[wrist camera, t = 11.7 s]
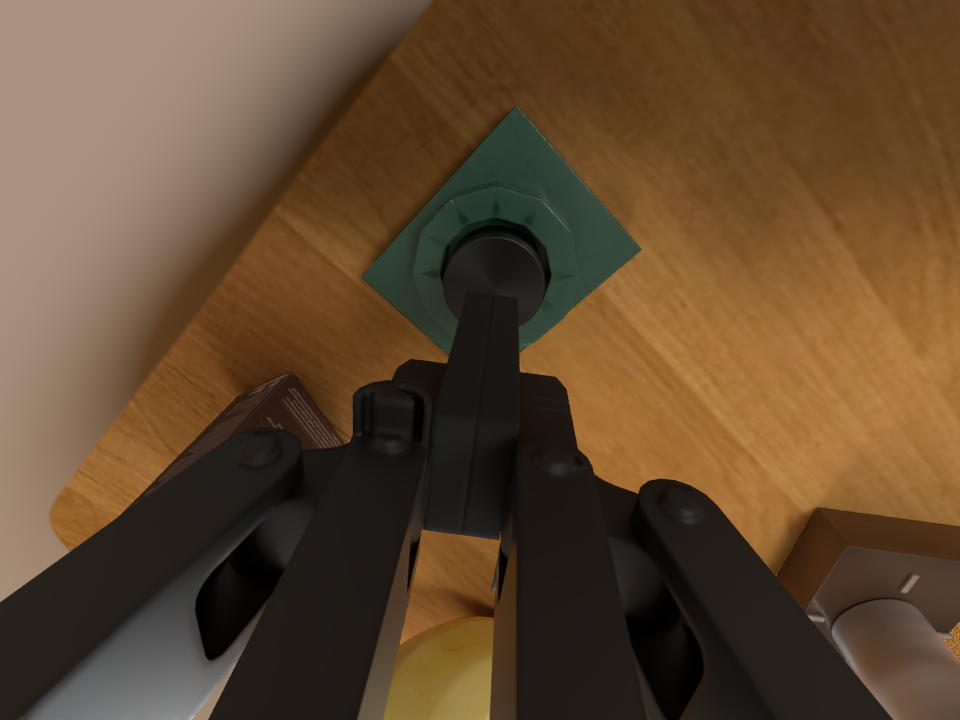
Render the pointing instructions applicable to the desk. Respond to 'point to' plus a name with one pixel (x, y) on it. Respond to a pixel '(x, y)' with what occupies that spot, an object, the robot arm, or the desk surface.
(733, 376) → the desk surface
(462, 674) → the banana
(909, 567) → the dial panel
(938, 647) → the dial
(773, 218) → the desk surface
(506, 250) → the button
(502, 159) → the button box
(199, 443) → the box
